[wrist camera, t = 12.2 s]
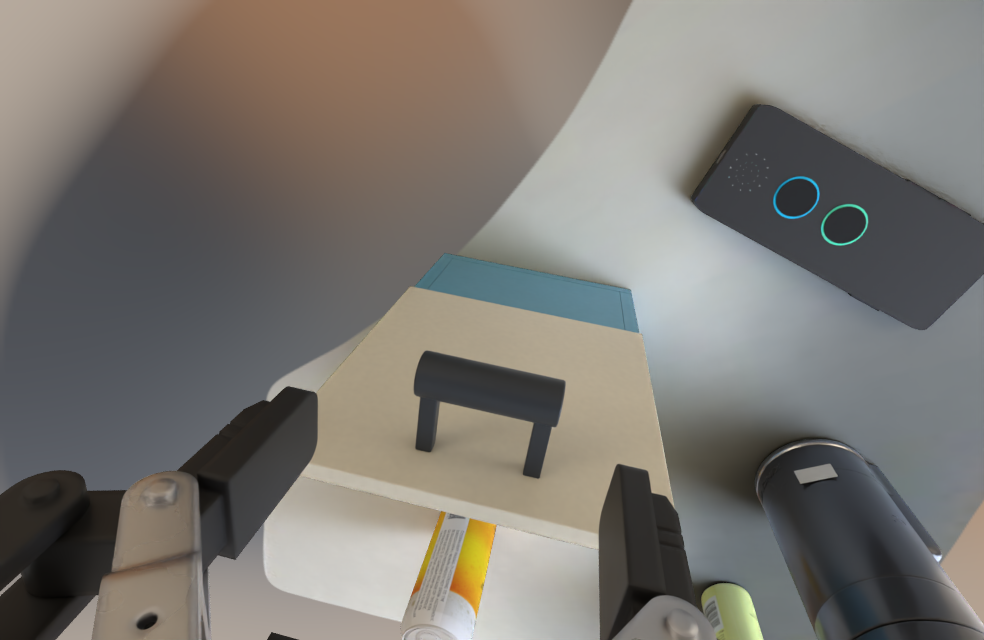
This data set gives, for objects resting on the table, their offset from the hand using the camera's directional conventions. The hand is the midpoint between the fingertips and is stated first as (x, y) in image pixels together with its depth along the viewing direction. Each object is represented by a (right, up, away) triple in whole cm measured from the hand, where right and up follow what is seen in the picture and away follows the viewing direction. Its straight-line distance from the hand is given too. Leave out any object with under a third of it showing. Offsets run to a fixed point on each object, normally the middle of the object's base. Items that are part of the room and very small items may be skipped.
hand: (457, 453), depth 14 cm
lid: (+1, 0, +14) cm, 14 cm away
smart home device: (+26, +11, +25) cm, 38 cm away
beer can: (-1, -17, +43) cm, 46 cm away
